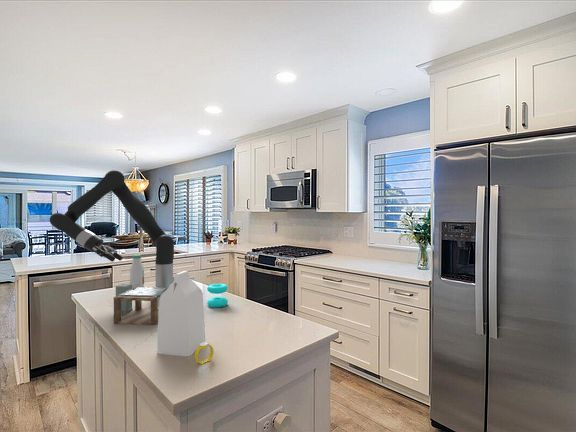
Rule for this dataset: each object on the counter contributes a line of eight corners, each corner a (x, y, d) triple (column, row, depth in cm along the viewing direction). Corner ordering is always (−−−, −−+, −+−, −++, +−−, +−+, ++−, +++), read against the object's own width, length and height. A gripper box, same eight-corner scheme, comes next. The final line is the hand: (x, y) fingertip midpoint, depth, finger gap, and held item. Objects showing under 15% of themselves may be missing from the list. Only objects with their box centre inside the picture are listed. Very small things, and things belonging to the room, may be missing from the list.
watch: (198, 367, 99) (197, 348, 98) (193, 365, 100) (192, 346, 100) (215, 359, 103) (214, 341, 102) (210, 357, 105) (209, 339, 104)
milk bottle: (140, 289, 192) (140, 256, 192) (127, 289, 192) (127, 256, 192) (146, 286, 200) (146, 254, 199) (133, 286, 200) (133, 254, 199)
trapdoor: (114, 301, 138) (114, 294, 138) (132, 293, 151) (132, 287, 151) (152, 303, 136) (152, 295, 136) (167, 294, 150) (167, 287, 150)
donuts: (218, 282, 169) (232, 284, 163) (218, 301, 169) (232, 304, 163) (203, 285, 161) (216, 288, 155) (203, 305, 161) (216, 309, 155)
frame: (113, 323, 136) (113, 297, 135) (137, 310, 154) (137, 286, 153) (155, 324, 134) (155, 298, 134) (174, 311, 152) (174, 287, 152)
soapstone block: (122, 308, 156) (122, 283, 155) (132, 309, 155) (132, 284, 155) (115, 312, 151) (115, 286, 150) (126, 312, 150) (125, 286, 150)
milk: (188, 356, 105) (188, 276, 105) (157, 353, 108) (156, 275, 107) (205, 341, 117) (205, 269, 117) (176, 339, 119) (176, 268, 119)
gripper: (86, 234, 150) (116, 253, 151) (101, 234, 164) (128, 252, 165) (76, 247, 149) (106, 267, 150) (92, 247, 163) (119, 265, 164)
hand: (118, 259), depth 157 cm, fingers open, 8 cm apart
